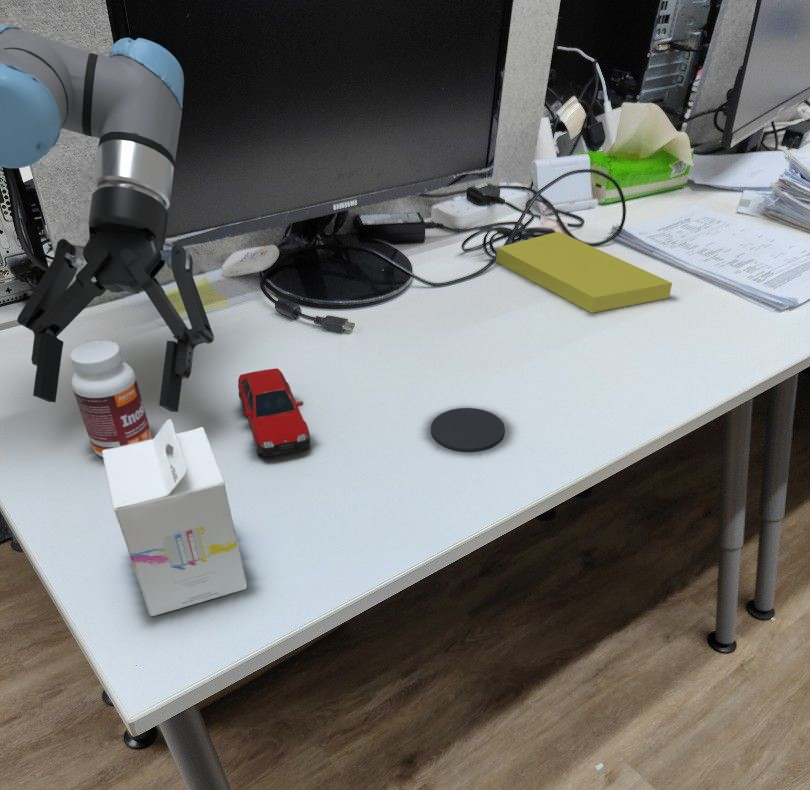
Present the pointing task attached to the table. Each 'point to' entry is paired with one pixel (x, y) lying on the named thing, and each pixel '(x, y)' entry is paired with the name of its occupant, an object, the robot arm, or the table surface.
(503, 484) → the table surface
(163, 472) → the ink box
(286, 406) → the toy car
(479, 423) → the coaster
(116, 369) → the pill bottle
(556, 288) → the flat mustard tile
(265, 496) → the table surface
